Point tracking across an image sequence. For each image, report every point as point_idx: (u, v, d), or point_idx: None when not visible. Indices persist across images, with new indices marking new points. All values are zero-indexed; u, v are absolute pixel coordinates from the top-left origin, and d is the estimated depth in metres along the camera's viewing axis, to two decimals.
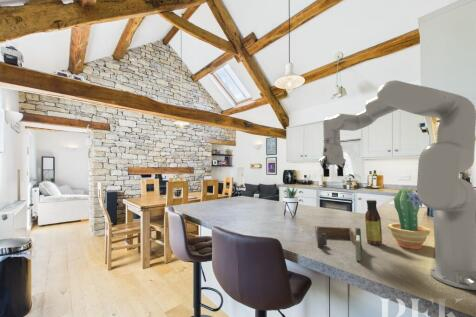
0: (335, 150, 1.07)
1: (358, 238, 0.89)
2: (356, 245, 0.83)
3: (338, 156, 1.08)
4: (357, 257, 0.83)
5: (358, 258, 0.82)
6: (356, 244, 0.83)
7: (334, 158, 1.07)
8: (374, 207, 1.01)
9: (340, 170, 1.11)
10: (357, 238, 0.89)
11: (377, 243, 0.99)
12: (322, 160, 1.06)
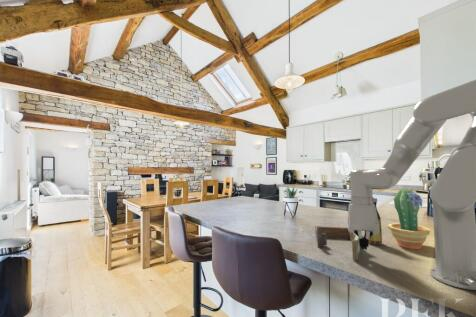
0: None
1: (357, 238, 0.90)
2: (353, 245, 0.83)
3: None
4: (354, 256, 0.83)
5: (355, 257, 0.83)
6: (353, 244, 0.84)
7: None
8: None
9: None
10: (356, 238, 0.90)
11: (377, 243, 0.99)
12: None
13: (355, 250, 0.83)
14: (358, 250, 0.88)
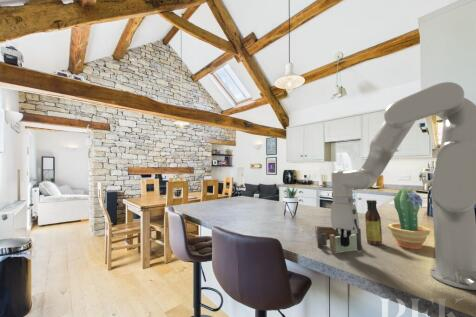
0: None
1: None
2: (330, 238, 0.91)
3: None
4: (331, 249, 0.91)
5: (331, 250, 0.91)
6: (330, 237, 0.91)
7: None
8: (374, 207, 1.01)
9: None
10: None
11: (377, 243, 0.99)
12: None
13: (331, 243, 0.91)
14: (345, 247, 0.92)
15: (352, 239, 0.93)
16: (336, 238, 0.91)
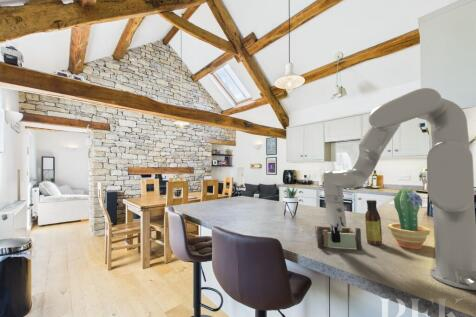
0: None
1: (342, 233, 0.96)
2: None
3: None
4: (324, 243, 0.99)
5: (324, 244, 0.98)
6: None
7: None
8: (374, 207, 1.01)
9: None
10: (341, 233, 0.97)
11: (377, 243, 0.99)
12: None
13: None
14: (340, 244, 0.96)
15: (349, 238, 0.95)
16: (329, 234, 0.97)
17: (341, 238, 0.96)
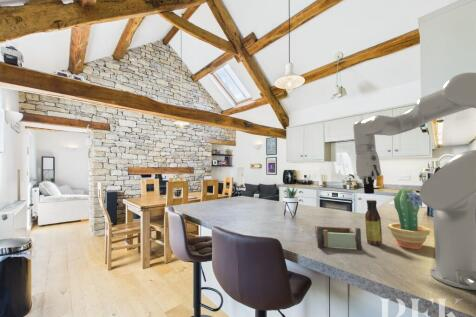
0: None
1: (342, 233, 0.96)
2: None
3: None
4: (324, 243, 0.99)
5: (324, 244, 0.98)
6: None
7: None
8: (374, 207, 1.01)
9: None
10: (341, 233, 0.97)
11: (377, 243, 0.99)
12: None
13: None
14: (340, 244, 0.96)
15: (349, 238, 0.95)
16: (329, 234, 0.97)
17: (341, 238, 0.96)
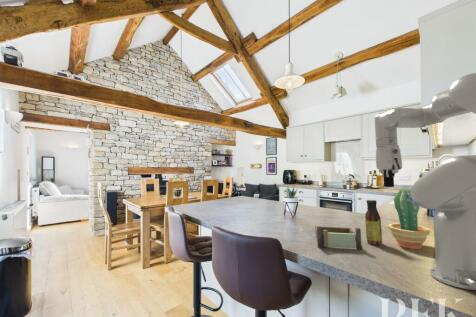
0: None
1: (342, 233, 0.96)
2: None
3: None
4: (324, 243, 0.99)
5: (324, 244, 0.98)
6: None
7: None
8: (374, 207, 1.01)
9: None
10: (341, 233, 0.97)
11: (377, 243, 0.99)
12: None
13: None
14: (340, 244, 0.96)
15: (349, 238, 0.95)
16: (329, 234, 0.97)
17: (341, 238, 0.96)
